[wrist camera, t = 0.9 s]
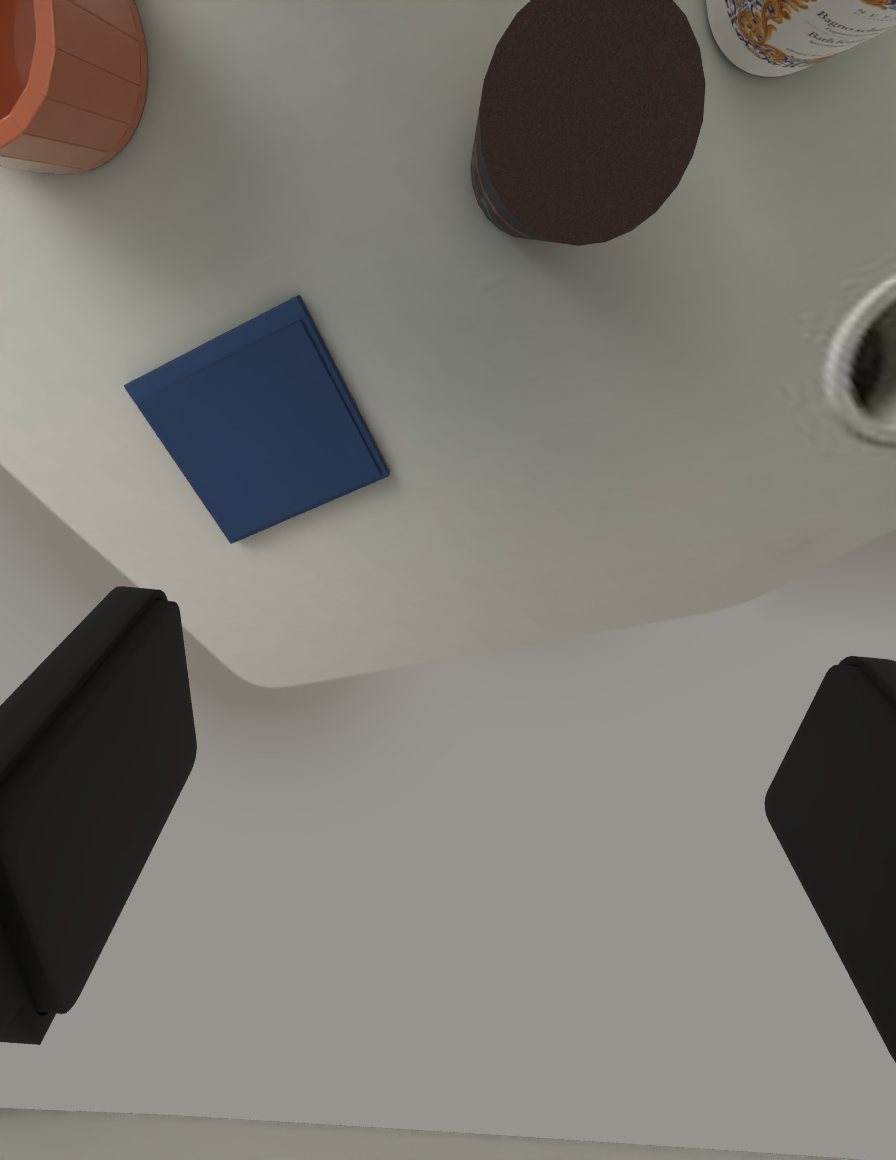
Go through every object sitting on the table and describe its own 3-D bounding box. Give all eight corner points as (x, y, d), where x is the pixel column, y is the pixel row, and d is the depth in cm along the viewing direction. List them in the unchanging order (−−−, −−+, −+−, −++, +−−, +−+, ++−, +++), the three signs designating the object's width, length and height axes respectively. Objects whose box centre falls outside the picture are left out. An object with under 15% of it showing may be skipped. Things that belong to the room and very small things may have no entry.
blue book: (129, 382, 35) (120, 387, 34) (299, 294, 33) (294, 296, 32) (234, 538, 40) (228, 546, 39) (390, 471, 37) (388, 478, 36)
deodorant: (505, 262, 32) (537, 286, 19) (448, 138, 29) (438, 63, 16) (615, 196, 30) (734, 170, 17) (565, 58, 28) (659, -96, 15)
